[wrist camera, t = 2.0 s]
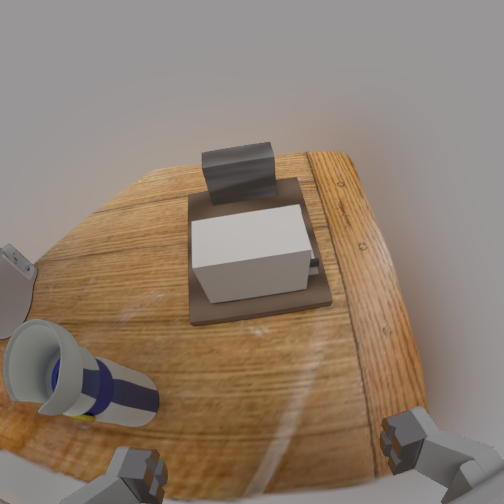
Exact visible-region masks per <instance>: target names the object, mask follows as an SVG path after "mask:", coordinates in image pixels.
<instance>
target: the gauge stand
mask: <svg viewBox="0 0 504 504" xmlns="http://www.w3.org/2000/svg"><path fill="white" fill-rule="evenodd" d="M202 170H203V174H204V177H205V181H206V184H207V188H208V191H205V192H199V193H194V194H188V284H189V315H190V323H191V325H192V326H200V325H208V324H216V323H224V322H231V321H239V320H246V319H253V318H259V317H266V316H272V315H278V314H284V313H290V312H296V311H302V310H308V309H313V308H319V307H324V306H330V305H331V304H332V297H331V293H330V289H329V285H328V281H327V278H326V274H325V270H324V267H323V263H322V259H321V256H320V252H319V249H318V245H317V242H316V238H315V235H314V231H313V228H312V225H311V221H310V218H309V215H308V211H307V208H306V205H305V202H304V199H303V195H302V192H301V189H300V186H299V183H298V180H297V177H296V178H288V179H281V180H276V177H275V160H274V154H273V150H272V147H271V143H270V142H266V143H259V144H251V145H245V146H238V147H232V148H226V149H220V150H215V151H209V152H204V153H202ZM292 205H299V207H300V210H301V214H302V217H303V221H304V224H305V228H306V231H307V234H308V238H309V242H310V246H311V249H312V250H311V259H315V258H319V266H316V267H310V268H309V273H308V280H307V287H306V289H302V290H297V291H291V292H285V293H278V294H272V295H266V296H259V297H253V298H246V299H239V300H232V301H225V302H218V303H211V302H210V301H209V299H208V297H207V295H206V293H205V291H204V290H203V288H202V286H201V284H200V282H199V280H198V278H197V276H196V275H195V273H194V271H193V269H192V221H198V220H203V219H209V218H215V217H221V216H227V215H233V214H240V213H246V212H252V211H259V210H265V209H272V208H279V207H285V206H292Z"/></svg>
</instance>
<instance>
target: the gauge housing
mask: <svg viewBox="0 0 504 504" xmlns="http://www.w3.org/2000/svg"><path fill="white" fill-rule="evenodd" d="M311 250H312V249H311V246H310V242H309V238H308V234H307V231H306V228H305V224H304V221H303V217H302V214H301V210H300V207H299V205H292V206H285V207H279V208H272V209H265V210H259V211H252V212H246V213H240V214H233V215H227V216H221V217H215V218H209V219H203V220H198V221H192V269H193V271H194V273H195V275H196V276H197V278H198V280H199V282H200V284H201V286H202V288H203V290H204V291H205V293H206V295H207V297H208V299H209V301H210V302H211V303H218V302H225V301H232V300H239V299H246V298H253V297H259V296H266V295H272V294H278V293H285V292H291V291H297V290H302V289H306V287H307V280H308V273H309V268H310V267H316V266H319V258H315V259H311Z"/></svg>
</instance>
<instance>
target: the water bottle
mask: <svg viewBox="0 0 504 504" xmlns="http://www.w3.org/2000/svg"><path fill="white" fill-rule="evenodd" d="M3 376H4V382H5V386H6V389H7V393H8V395H9V397H10V398H11V400H12V401H13V402H17V401H26V402H37V403H45V404H44V405H43V406H42V407H41V408H40V409H39V410H38V412H39V413H40V414H44V415H49V416H56V415H59V414H63V415H66V416H69V417H73V418H77V419H81V420H86V421H92V422H95V421H100V422H106V423H113V424H118V425H123V426H128V427H140V426H143V425H145V424H147V423H149V422H150V421H151V420H152V419H153V418H154V416H155V415H156V413H157V410H158V407H159V394H158V390H157V388H156V386H155V384H154V382H153V381H152V380H151V379H150V378H149V377H148V376H147V375H145V374H143V373H141V372H138V371H135V370H132V369H129V368H126V367H124V366H122V365H119V364H117V363H115V362H113V361H110V360H108V359H105V358H102V357H94V356H93V355H92V354H91V353H90V351H88V350H87V349H86V348H84V347H82V346H80V345H78V344H77V342H76V340H75V338H74V337H73V336H72V334H71V333H70V332H69V331H68V330H66V329H65V328H63V327H62V326H60V325H57V324H55V323H53V322H50V321H46V320H42V319H32V320H28V321H26V322H24V323H23V324H21V325H20V326H19V327H18V328H17V329H16V330H15V331H14V333H13V334H12V336H11V338H10V340H9V342H8V345H7V348H6V351H5V356H4V363H3Z"/></svg>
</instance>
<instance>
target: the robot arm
mask: <svg viewBox="0 0 504 504" xmlns="http://www.w3.org/2000/svg"><path fill="white" fill-rule="evenodd" d="M36 276H37V268H36V267H35V266H34V265H32V264H31V263H30V262H29V261H28V260H27V259H26V258H25V257H24V256H23V255H22V254H21V253H20V252H18V251H17V250H16V249H15V248H14V247H13V246H12V245H11V244H8V245H6V246H4V247H3V248H2V249H1V248H0V339H6V338H8V337H10V336H12V334H13V333H14V331H15V330H16V329H17V328H18V327H19V326H20V325H21V324H22V323H23V322H24V320H25V318H26V316H27V313H28V311H29V308H30V304H31V300H32V292H33V284H34V281H35V279H36ZM381 426H382V428H383V431H382V432H381V433H380V447H381V450H382V452H383V454H384V455H385V456H387V457H389V460H388V465H389V467H390V469H391V471H392V474H393V476H394V475H397V474H400V473H403V472H405V471H408V470H411V469H414V468H415V470H417V471H418V472H420V473H422V474H423V475H425V476H427V477H429V478H430V479H432V480H434V481H436V482H438V483H439V484H441V485H443V486H445V487H447V488H448V490H447V492H446V494H445V495H444V497H443V499H442V500H441V503H442V504H504V460H503V459H502V458H501V456H500V455H499V454H498V452H497V451H496V450H495V449H494V447H493V446H490V445H487V444H484V443H480V442H477V441H474V440H471V439H468V438H465V437H462V436H459V435H456V434H454V433H451V432H448V431H445V430H443V431H440V430H439V428H438V427H437V426H436V424H435V423H434V421H433V420H432V419H431V417H430V416H429V415H428V413H427V412H426V411H425V409H424V408H423V407H422V406H417V407H415V408H412V409H409V410H406V411H403V412H400V413H397V414H394V415H392V416H389V417H385V418H383V420H382V424H381ZM159 457H160V454H159V452H158V451H157V449H148V448H135V447H124V446H119V447H118V448H117V449H116V451H115V453H114V455H113V458H112V460H111V462H110V464H109V467H108V469H107V471H106V474H105V475H100V476H99V477H97V478H96V479H94V480H93V481H91V482H90V483H88V484H87V485H85V486H84V487H82V488H81V489H79V490H78V491H76V492H75V493H73V494H71V495H70V496H68V497H66V498H65V499H63V500H61V502H60V504H141V503H145V504H162V502H163V497H164V493H165V492H164V490H163V488H162V487H163V486H164V485H165V484H167V480H168V470H167V467H166V465H165V463H164V462H163V461H162V460H160V459H159ZM0 504H9V503H7V502H5V501H3V500H2V499H0Z"/></svg>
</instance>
